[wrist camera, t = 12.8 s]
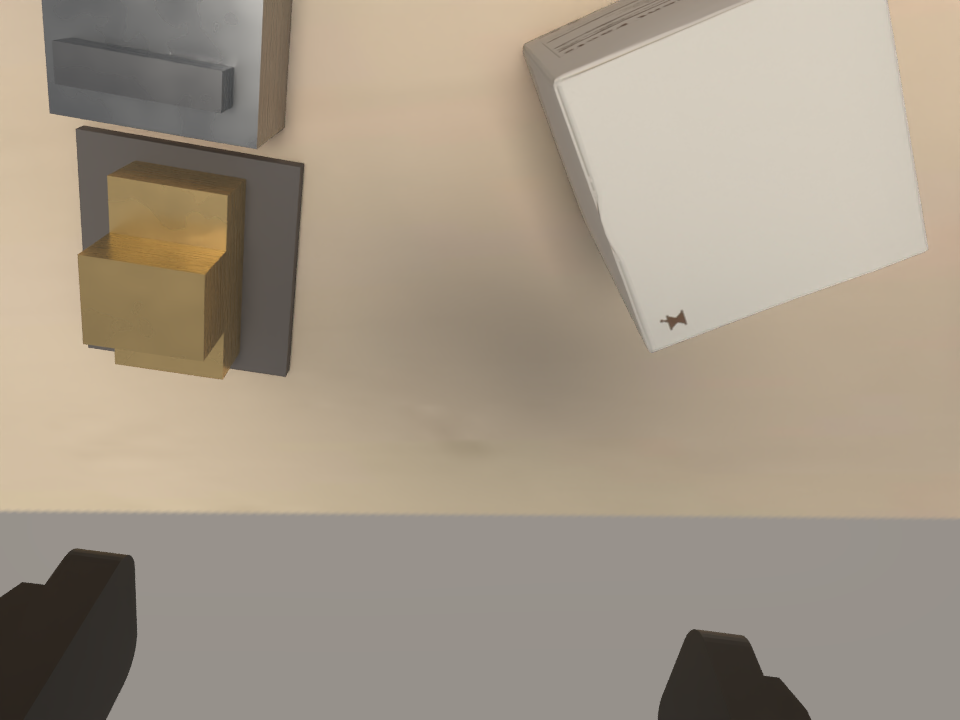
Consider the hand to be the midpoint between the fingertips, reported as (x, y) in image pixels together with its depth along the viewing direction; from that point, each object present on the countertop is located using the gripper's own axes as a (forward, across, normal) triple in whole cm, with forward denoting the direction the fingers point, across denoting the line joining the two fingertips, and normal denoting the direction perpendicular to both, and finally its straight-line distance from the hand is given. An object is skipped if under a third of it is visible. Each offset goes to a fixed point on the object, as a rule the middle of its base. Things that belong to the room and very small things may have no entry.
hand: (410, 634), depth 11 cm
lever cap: (+27, +12, +6) cm, 30 cm away
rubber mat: (+28, +12, +6) cm, 31 cm away
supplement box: (+28, -8, -5) cm, 30 cm away
